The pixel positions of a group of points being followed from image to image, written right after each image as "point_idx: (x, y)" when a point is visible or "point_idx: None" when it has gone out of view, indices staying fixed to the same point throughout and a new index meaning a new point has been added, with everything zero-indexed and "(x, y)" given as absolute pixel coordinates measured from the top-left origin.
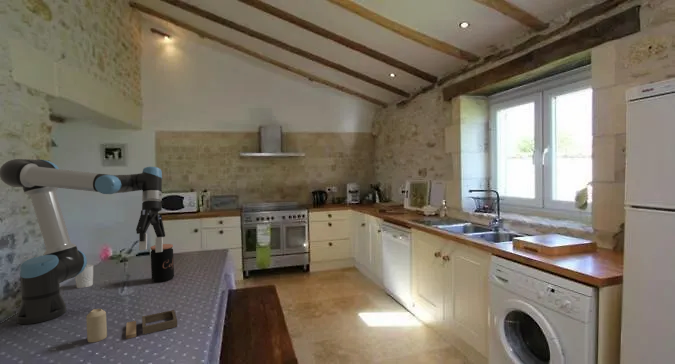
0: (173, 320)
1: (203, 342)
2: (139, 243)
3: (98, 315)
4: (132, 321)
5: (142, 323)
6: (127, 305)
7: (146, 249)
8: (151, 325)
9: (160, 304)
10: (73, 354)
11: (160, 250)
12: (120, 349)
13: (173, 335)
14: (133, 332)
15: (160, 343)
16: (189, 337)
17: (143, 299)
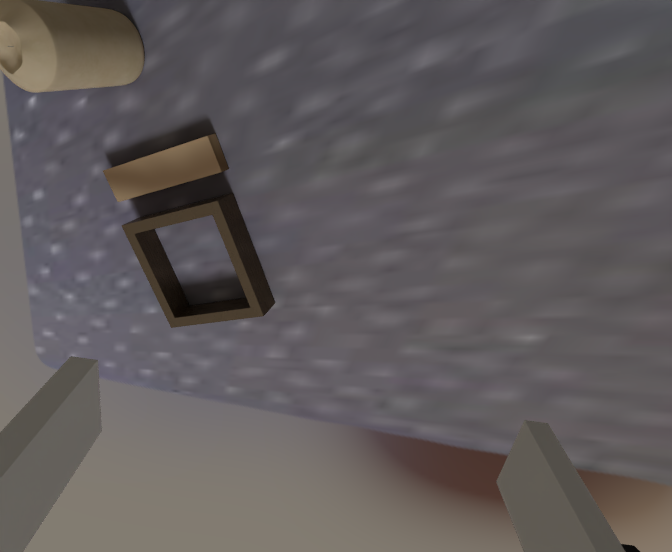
0: (167, 317)
1: None
2: (10, 426)
3: (3, 72)
4: (215, 158)
5: (153, 217)
6: (518, 28)
7: (96, 428)
8: (135, 252)
9: (445, 232)
10: None
11: (508, 485)
12: (55, 171)
13: (132, 306)
14: (123, 191)
15: (90, 277)
16: (120, 344)
17: (603, 109)
